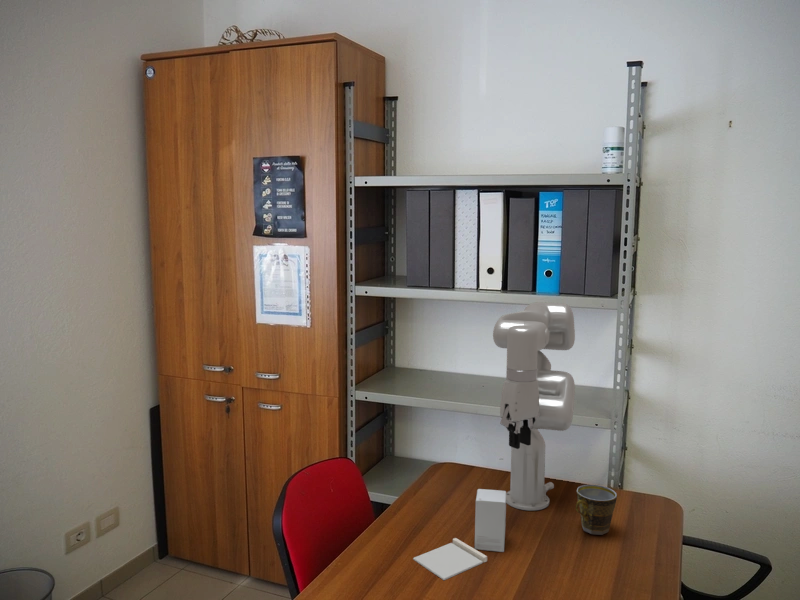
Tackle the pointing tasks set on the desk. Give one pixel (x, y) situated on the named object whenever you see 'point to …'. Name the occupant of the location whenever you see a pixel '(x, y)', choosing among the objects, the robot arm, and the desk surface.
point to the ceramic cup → (596, 508)
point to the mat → (447, 561)
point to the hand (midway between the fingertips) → (519, 444)
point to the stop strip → (470, 550)
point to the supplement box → (490, 520)
